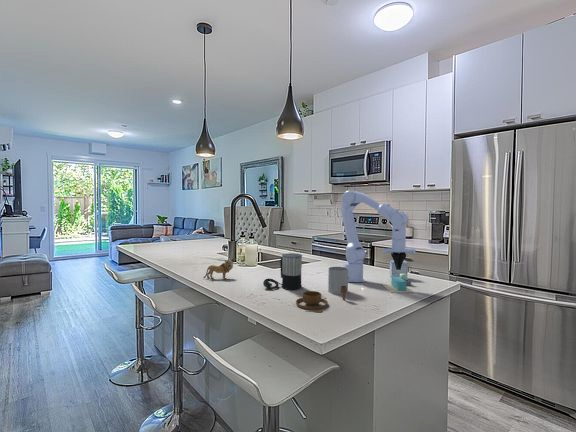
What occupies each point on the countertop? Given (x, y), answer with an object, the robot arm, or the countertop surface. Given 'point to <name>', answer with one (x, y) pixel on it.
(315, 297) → the place setting
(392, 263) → the medicine box
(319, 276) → the countertop surface
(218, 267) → the lion figurine
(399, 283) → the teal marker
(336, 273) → the cup
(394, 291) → the kraft paper
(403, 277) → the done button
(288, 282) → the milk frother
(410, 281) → the button housing
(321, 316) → the countertop surface
